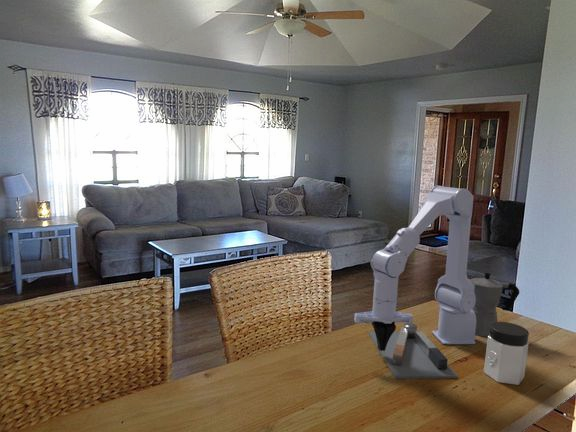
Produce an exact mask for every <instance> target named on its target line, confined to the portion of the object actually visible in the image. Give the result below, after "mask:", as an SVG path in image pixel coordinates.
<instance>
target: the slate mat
mask: <svg viewBox="0 0 576 432" xmlns="http://www.w3.org/2000/svg"><path fill="white" fill-rule="evenodd" d="M399 334H400V331H394V332H393V334H392V335H391V337H390V339H389V341H388V343H387V346H386V349H385V351H380V350H379V349H378V344H377V338H376V334H375V331H369V332H368V335H369V337H370V339H371V340H372V342H373V343H374V346H375V348H376V349H377V350H378V352H379V353H380V356H381V357H382V359H383V361H384V362H385V364H386V366H387V367H388V369H389V371H390V372H391V374H392V376H393V377H394V379H457V378H458V374H457V373H456V372H455V370H453V369H452V367H451V366H449V364H448V363H447V369H438V368H437V367H436V366H435V365H434V363H433V362H432V361H431V360H430V359H429V357H428V356H427V354H426V353H425V352H424V351H423V350H422V348H421V347H420V346H419V345H418V343H417V342H416V341H415V340H414V338H408V339H407V343H406V347H405V351H404V356H403V360H402V365H396V364H392V363H393V353H394V350H395V347H396V344H397V341H398V337H399Z"/></svg>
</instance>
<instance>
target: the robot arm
mask: <svg viewBox="0 0 576 432" xmlns="http://www.w3.org/2000/svg"><path fill="white" fill-rule="evenodd" d="M473 207H474V195H473V194H472V193H471V191H470V190H468V189H467V188H459V187H458V188H457V187H449V186H443V185H440V184H439V185H437V184H436V185H434V186H433V187H432V188H431V189H430V190H429V192H428V193H427V194H426V195H425V203H424V204H423V206H422V207H421V208H420V210H419V211H418V213H417V215H415V217H414V219H412V222H411V223H410V224H409V225H408V227H402V228H400V229H398V230H397V231H396V234H395V235H394V236H393V238H391V240H390V241H389V242H388V243H387V244H386V245H385V247H384V248H383V249H380V250H378V251H376V252H375V253H374V254H373V255H372V259H371V260H370V262H369V263H370V267H371V269H372V271H373V273H372V275H373V277H374V283H373V295H372V296H373V297H372V298H373V299H372V310H371V311H364V312H355V313H354V322H355V324H360V323H371V325H372V329H373V332H375V334H376V338H377V344H378V349H379V350H380V351H385V349H386V346H387V343H388V341H389V339H390V337H391V335H392V334H393V332H396V328H397V325H396V323H413V324H414V316H413V314H412V313H410V312H409V313H407V312H401V311H400V312H399V311H397V300H398V288H399V287H398V286H399V276H401V274H402V273H404V271H405V268H406V264H407V262H408V258H409V256H410V255H411V254H412V253H413V252H414V250H415V249H416V247H418V245H419V244H420V243H421V242H420V241H421V239H420V236H421V235H422V233H423V232H425V231H426V229H427V228H428V227H429V226H430V225H431V224H433V222H434V221H435V220H436V219H437V218H438V217H439V216H445V217H446V218H447V219H448V220H449V226H448V239H447V248H446V249H447V250H446V251H447V252H446V262H445V273H444V275H442V276H440V278H439V277H438V279H437V284H436V288H435V290H434V299H435V300H436V302H437V303H438V304H437V306H438V307H439V314H438V324H437V325H438V326H437V330H431V333H432V334H433V335H434V337H435V338H437V340H439V342H440V343H441V344H442V345H475V344H477V343H476V341H475V338H476V335H475V330H476V315H475V313H474V311H473V310H472V308H473V307H474V305H475V301H476V298H475V293H474V285H473V284H472V282H471V281H470V280H469V279H470V278H468V276H467V270H468V258H469V247H470V237H471V235H470V234H471V226H472V225H471V223H472V218H473V209H474V208H473ZM378 349H377V350H378ZM379 350H378V351H379Z"/></svg>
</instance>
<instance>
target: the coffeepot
mask: <svg viewBox="0 0 576 432" xmlns="http://www.w3.org/2000/svg"><path fill="white" fill-rule="evenodd" d="M468 279H469V280H470V281H471V282H472V284H473V285H474V293H475V298H476V301H475V305H474V307H473V308H472V310H473V311H474V313H475V315H476V330H475V336H480V337H484V338H485V337H487V338H488V336H489V335H490V326H491V324H492V323H494V322H499V321H498V313H497V308H498V306H499V304H500V300H501V296H502V295H503V291H504V290H505V291H509V290H511V294H510V297H509V299H508V301H507V304H506V306H501V309H502V311H511V309H512V307H513V305H514V304H515V302H516V300H517V298H518V296H519V294H520V289H519V288H518V287H517V285H516V284H515V283H508V282H500V281H498V280H495V279H492V278H491V272H484V277H473V278H468Z"/></svg>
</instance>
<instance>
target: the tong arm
mask: <svg viewBox="0 0 576 432" xmlns="http://www.w3.org/2000/svg"><path fill="white" fill-rule="evenodd" d="M415 331H418V325H417V324H415V323H414V322H413V323H408V322H404V324H403V326H401V328H400V331H399V332H400V334H399V337H398V341H397V344H396V347H395V350H394V353H393V363H392V364H396V365H402V360H403V356H404V351H405V347H406V343H407V339H408V338H415Z"/></svg>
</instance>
